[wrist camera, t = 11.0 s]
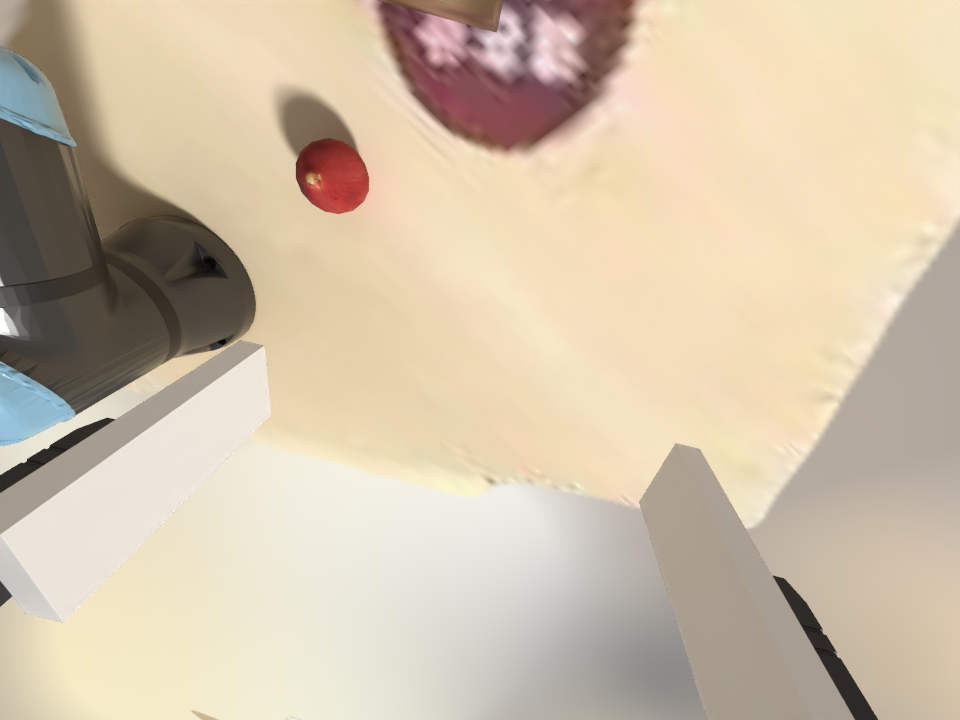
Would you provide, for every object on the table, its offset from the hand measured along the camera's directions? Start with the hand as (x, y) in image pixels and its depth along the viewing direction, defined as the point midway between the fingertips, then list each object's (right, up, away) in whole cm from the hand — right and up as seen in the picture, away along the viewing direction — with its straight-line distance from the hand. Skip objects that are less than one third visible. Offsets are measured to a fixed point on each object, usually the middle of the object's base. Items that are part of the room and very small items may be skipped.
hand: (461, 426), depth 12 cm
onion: (-12, +20, +24) cm, 33 cm away
